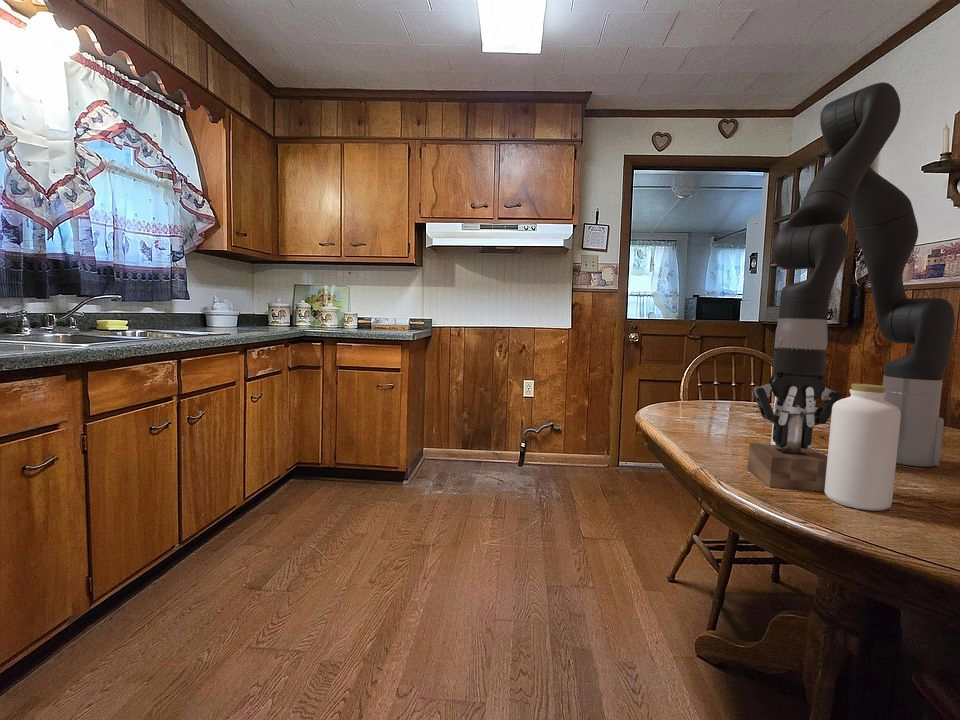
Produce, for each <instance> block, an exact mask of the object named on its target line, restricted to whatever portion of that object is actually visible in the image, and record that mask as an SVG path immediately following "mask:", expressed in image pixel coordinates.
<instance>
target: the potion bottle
mask: <svg viewBox="0 0 960 720" xmlns="http://www.w3.org/2000/svg"><path fill="white" fill-rule="evenodd" d="M884 389H885V387H884V386H883V385H878V384H869V383H851V388H849V393H850V396H848V397H845V398H841V399H840V400H838V401H836V402H835V403H834V404H833V407H832V414H831V415H830V417H831V418H830V425H829V426H830V428H829V437H828V438H829V439H828V447H827V448H828V450H827V456H828V458H827V469H826V480H825V491H824V494H825V496H827V498H828V499H829V500H831V501H832V502H834V503H836V504H839V505H842V506H845V507H849V508H852V509H857V510H864V511H874V512H875V511H878V512H879V511H884V510H887V509H889V508H890V507H891V506H892V505H893V504H892V503H893V497H894V495H893V494H894V487H895V479H896V478H895V477H896V476H895V475H896V469H897V468H896V467H897V463H896V458H897V448H898V439H899V429H900V419H901V412H900V410H899V409H898V407H896V406H895V405H893V404H891V403H889V402H887V401H885V400H884V396H885V394H886V393H885V392H884Z"/></svg>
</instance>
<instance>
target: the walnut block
mask: <svg viewBox="0 0 960 720" xmlns="http://www.w3.org/2000/svg"><path fill="white" fill-rule="evenodd" d="M748 445H749V447H748V460H747V471H748V472H749V473H751V474H752V475H753V476H754V475H755V476H754V477H756V478H757V479H758V480H760V481H761V482H763V484H765V485H766V486H768V487H769V488H776V489H777V488H779V489H790V490H799V491H800V490H801V491H802V490H803V491H813V492H814V491H815V492H825V480H826V469H827V458H828V455H825V454H823V453H822V452H819V451H817V450H815V449H813V448H812V447H811V448H809V447H808V448H807V449H802V448H801V455H791V454H783V453H781V447H779V446H777V445H771V444H768V443H767V444H766V443H765V444H763V443H753V442H749V444H748Z"/></svg>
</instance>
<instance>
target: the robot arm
mask: <svg viewBox="0 0 960 720" xmlns="http://www.w3.org/2000/svg"><path fill="white" fill-rule="evenodd" d="M900 115H901V100H900V96H899V94H898V91H897V90H896V88H895V87H894V86H893V85H892V84H890V83H888V82H884V81H883V82H877V83H873V84H869V85H868V86H865V87H863V88H860V89H858V90H855V91H852V92H851V93H849V94H846V95H844V96H842V97H840V98H837V99H834V100H833V101H830V102H828V103H827V104H825V105H824V106H823V108H822V110H821V112H820V118H819V119H820V121H819V122H820V123H819V124H820V129H821V135H822V137H823V141H824V143H825V146H826V148H827V152H828V153H829V156H830V158H831V159H830V160H829V161H828V162H827V163H826V164H825V165H824V166H823V167H822V168H821V169H820V170H819V171H818V172H817V174H816V175H815V177H814V178H813V180H812V181H811V182H810V186H809V188H808V189H807V192H806V195H805V197H804V199H803V202H801V203H802V204H801V206H800V207H799V208H798V209H796V211H795V212H794V213H793V214H792V216H791V217H790V218H789V219H788V220H787V221H786V222H785V223H784V225H782V227H781V229H780V230H779V231H778V232H777V235H776V236H775V237H774V240H773V243H772V247H771V255H772V256H771V257H772V260H773V262H774V264H775V265H776V266H778V267H779V268H780V269H782V270H788V271H791V270H792V271H793V270H794V271H796V270H810V269H811V270H813V271H812V272H811V274H810V275H809V277H807V279H805V280H801V281H798V282H795V283H790V284H787V285H784V287H783V288H782V289H781V292H780V296H779V297H780V298H779V307H778V308H779V309H778V310H779V311H778V312H779V313H778V321H777V326H776V329H775V336H774V337H775V338H774V347H773V359H772V370H771V371H772V372H771V373H772V375H771V378H770V379H769V380H768V383H766V384H764V385H763V384H762V385H760V386H757V385H755V386H753V387H752V388H751V389H752V391H751V392H752V393H753V395H754V399H755V400H756V403H757V406H758V409H759V411H760V414H761V416H762V418H763V419H766V420H767V421H770V422H772V425H773V424H774V427H773V438H772V439H773V442H775V443H776V445H777V446H779V447H785V441H786V430H787V426H785V424H786V420H787V417H788V414H789V413H790V411H791V408H792V406H795V405H798V411H799V413H801V414H804V426H803V437H802V449H807V448H808V446H810V445H811V442H812V443H813V435H812V431H814V427H815V426H818V425H825V424H826V423H828V422H827V421H828V420H829V418H830V417H831V414H832V407H833V404H834V403H835V402H836V401H838V400H841V399H842V397H843V396H842V395H843V394H842V393H841V392H839V391H835V390H832V389H830V388H827V387H826V383H825V381H824V376H825V375H824V374H825V369H826V359H827V358H826V357H827V347H828V346H829V345H828V337H829V331H828V316H829V315H828V314H829V306H830V305H829V304H830V297H831V293H832V290H833V287H834V283H835V281H836V278H837V276H838V273H839V272H840V268H841V266H842V264H843V263H844V259H845V258H846V254H847V252H848V248H849V237H848V235H847V232H846V230H845V228H843V227H842V226H841V225H842V224H843V223H844V221H845V220H846V219H847V216H848V214H849V212H850V216H851V220H852V223H853V224H852V225H853V227H854V230H855V233H856V236H857V241H858V244H859V246H860V250H861V251H862V252H861V253H862V255H863V259H864V262H865V267H866V269H867V273H868V277H869V281H870V285H871V286H870V287H871V293H872V298H873V304H874V310H875V316H876V320H877V325H878V328H879V331H880V333H881V335H882V337H883V338H884V339H885V340H886V341H888V342H891V343H895V344H907V345H913V348H912V350H911V352H910V353H909V354H907V355H905V356H903V357H902V358H901V357H900V358H898V359H894V360H890V361H887V362H886V363H885V365H884V367H883V368H884V370H883V379H882V380H883V381H882V386H884V387H885V389H884V392H885V393H886V394H885V396H884V400H885V401H887V402H889V403H891V404H893V405H895V406H896V407H898V409H899V410H900V412H901V419H900V429H899V439H898V448H897V458H896V464H898V465H905V466H911V467H912V466H913V467H940V459H941V450H942V443H943V442H942V441H943V433H944V432H943V431H944V423H945V422H944V421H945V420H944V418H942V417H940V410H941V409H940V408H941V400H942V399H941V398H942V388H943V379H944V373H945V370H946V368H947V366H948V362H949V357H950V353H951V352H950V351H951V345H952V341H953V339H952V338H953V335H954V330H955V329H954V328H955V319H956V316H955V310H954V307H953V306H952V304H951V302H950V301H948V300H947V299H946V298H943V297H941V298H939V297H918V298H917V297H915V298H911V297H910V298H909V297H907V294H906V292H905V287H904V286H905V285H904V279H903V278H904V277H903V274H904V270H905V268H906V265H907V263H908V261H909V259H910V257H911V255H912V254H913V251H914V249H915V246H916V245H917V241H918V237H919V227H918V222H917V219H916V215H915V212H914V209H913V205H912V201H911V200H910V198H909V197H908V196H907V194H905V193H904V192H903V191H902V190H901V189H900V188H899V187H897V186H896V185H894V184H893V183H892V182H890V181H889V180H887V179H885V178H884V177H883V176H881V175H880V174H879V173H878V172H876V171H875V170H874V169H873V168H872V167H871V166H872V164H873V163H874V161H875V159H876V158H877V156H878V155H879V154H880V153H881V151H882V149H883V147H884V146H885V144H886V143H887V141H888V140H889V138H890V137H891V135H892V134H893V132H894V131H895V129H896V127H897V125H898V122H899V119H900ZM771 392H772V393H773V394H774V397H775V396H776V398H777V400H776V404H775V412H774V409H773V407H772V405H771V402H770V399H769V397H771ZM819 397H820V398H821V401H820V403H819V404H818V406H817V408H816V406H815V407H814V401H815V400H817V399H818V398H819Z"/></svg>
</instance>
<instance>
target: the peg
mask: <svg viewBox="0 0 960 720" xmlns="http://www.w3.org/2000/svg"><path fill="white" fill-rule="evenodd" d="M785 426H787V430H786V441H785V447H781V453H783V454H791V455H801V448H802V437H803V426H804V414H801V413H794V412H790V413H789V414H788V417H787V420H786V424H785Z"/></svg>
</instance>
